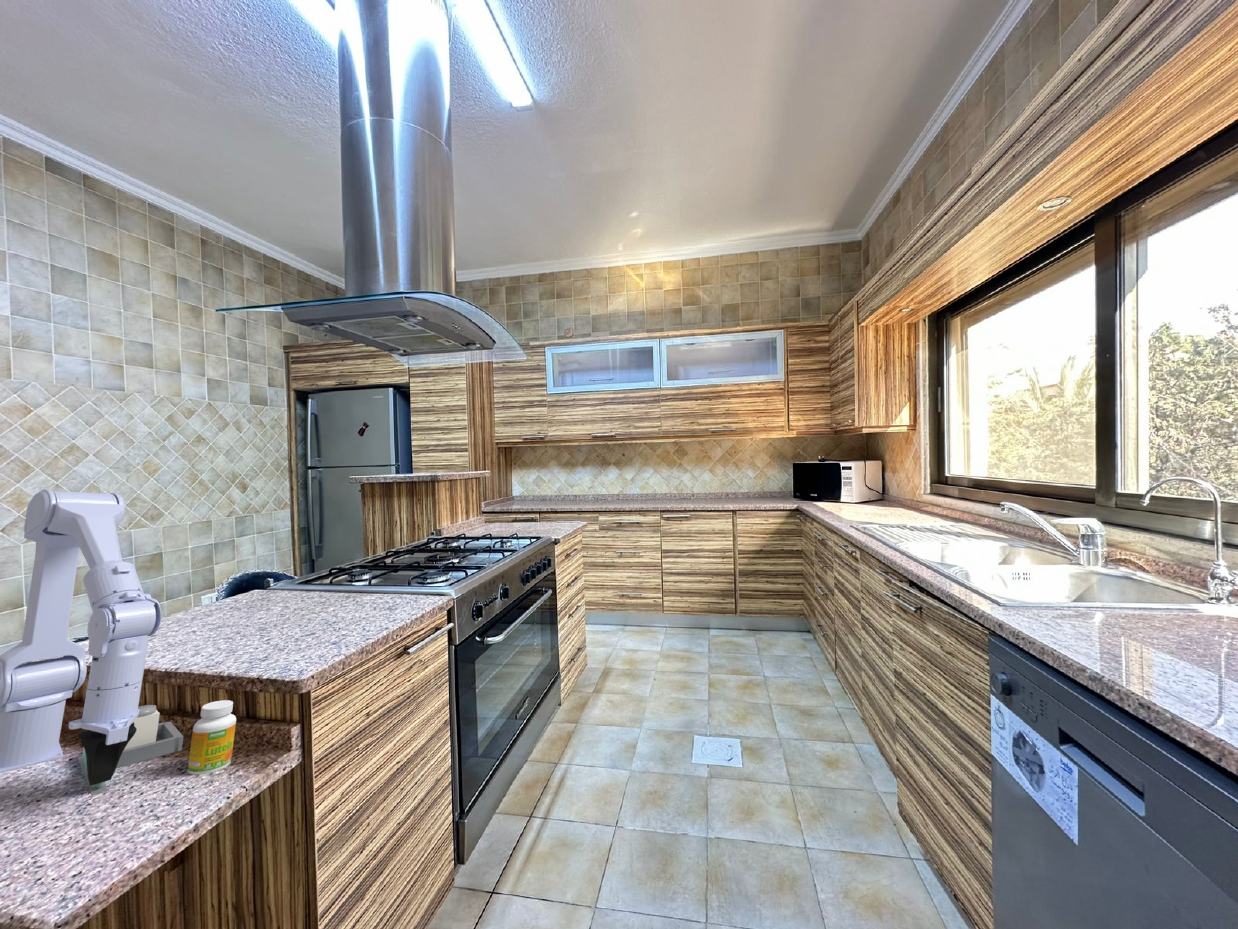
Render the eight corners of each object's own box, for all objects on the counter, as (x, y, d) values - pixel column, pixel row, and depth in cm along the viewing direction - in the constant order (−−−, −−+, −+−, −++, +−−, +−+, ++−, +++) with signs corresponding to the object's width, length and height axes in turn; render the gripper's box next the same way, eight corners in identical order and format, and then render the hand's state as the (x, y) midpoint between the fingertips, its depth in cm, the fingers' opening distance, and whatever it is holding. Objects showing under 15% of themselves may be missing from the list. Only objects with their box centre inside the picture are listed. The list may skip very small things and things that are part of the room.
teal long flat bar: (79, 760, 76) (83, 738, 77) (92, 757, 78) (95, 736, 78) (90, 788, 69) (94, 764, 69) (104, 784, 70) (108, 761, 70)
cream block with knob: (116, 752, 79) (122, 709, 80) (149, 743, 82) (155, 702, 83) (120, 759, 77) (127, 715, 78) (154, 750, 80) (160, 708, 81)
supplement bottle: (201, 779, 73) (209, 713, 74) (178, 772, 74) (187, 707, 76) (238, 763, 78) (246, 701, 79) (217, 757, 79) (224, 696, 81)
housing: (76, 758, 78) (79, 742, 78) (167, 735, 87) (169, 721, 87) (91, 797, 67) (94, 779, 67) (193, 767, 76) (196, 750, 76)
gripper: (69, 679, 72) (53, 775, 70) (81, 703, 63) (63, 813, 61) (134, 669, 77) (121, 757, 76) (154, 689, 69) (139, 790, 67)
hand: (100, 781), depth 69 cm, fingers closed
